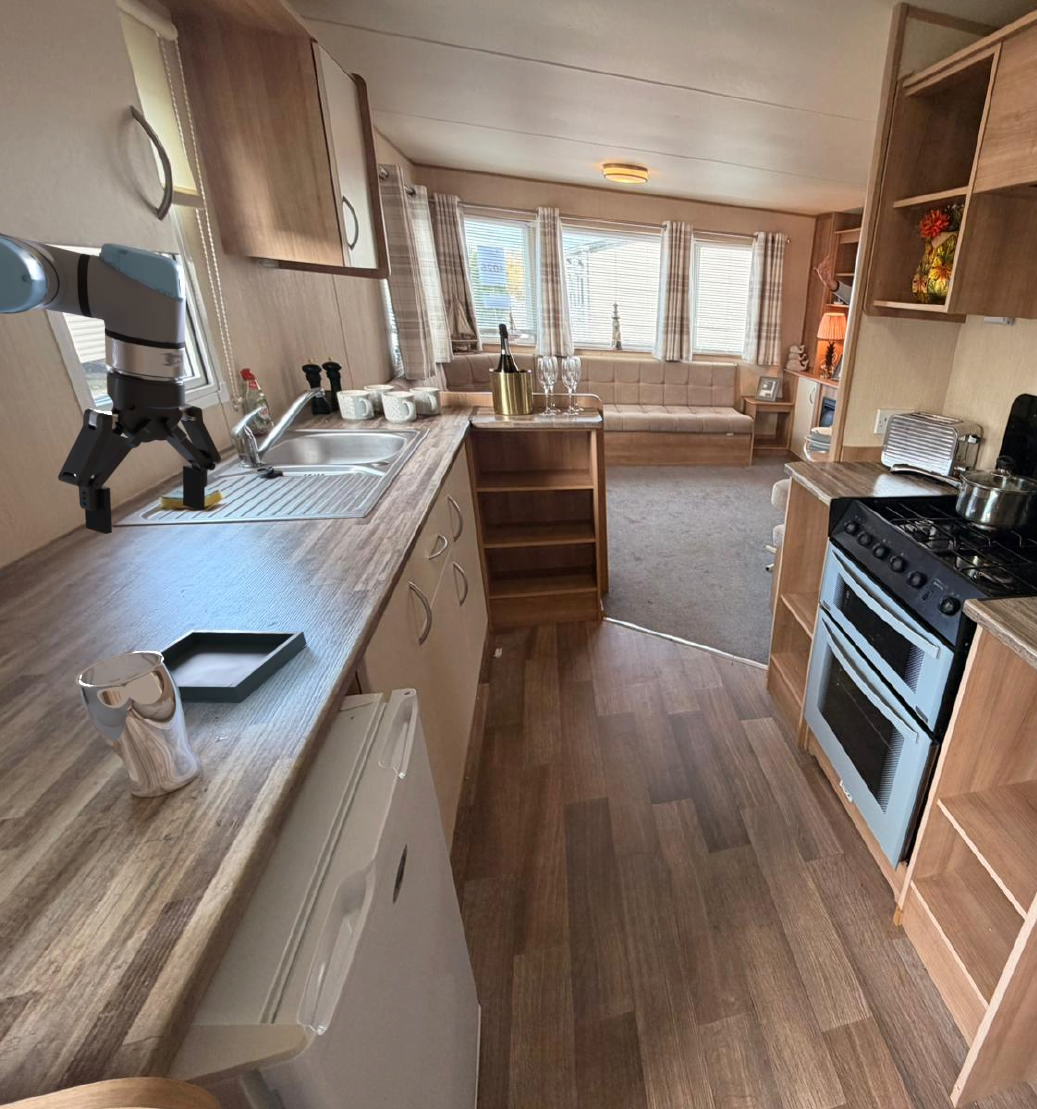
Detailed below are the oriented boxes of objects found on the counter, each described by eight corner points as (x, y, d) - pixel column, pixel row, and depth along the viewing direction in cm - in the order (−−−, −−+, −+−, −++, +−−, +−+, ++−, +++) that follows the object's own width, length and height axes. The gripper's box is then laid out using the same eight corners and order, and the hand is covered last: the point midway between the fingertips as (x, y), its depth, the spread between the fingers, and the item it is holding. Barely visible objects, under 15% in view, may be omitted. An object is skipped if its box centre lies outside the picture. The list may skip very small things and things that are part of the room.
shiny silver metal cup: (111, 789, 65) (56, 677, 59) (185, 749, 71) (141, 644, 65) (149, 809, 63) (95, 695, 57) (222, 766, 69) (180, 659, 63)
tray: (110, 701, 79) (102, 685, 78) (197, 643, 92) (191, 629, 91) (240, 702, 80) (234, 687, 79) (307, 645, 93) (303, 631, 92)
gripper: (68, 384, 67) (79, 551, 74) (252, 379, 91) (248, 506, 98) (3, 364, 67) (20, 533, 74) (204, 364, 91) (203, 492, 97)
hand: (150, 518), depth 86 cm, fingers open, 13 cm apart
